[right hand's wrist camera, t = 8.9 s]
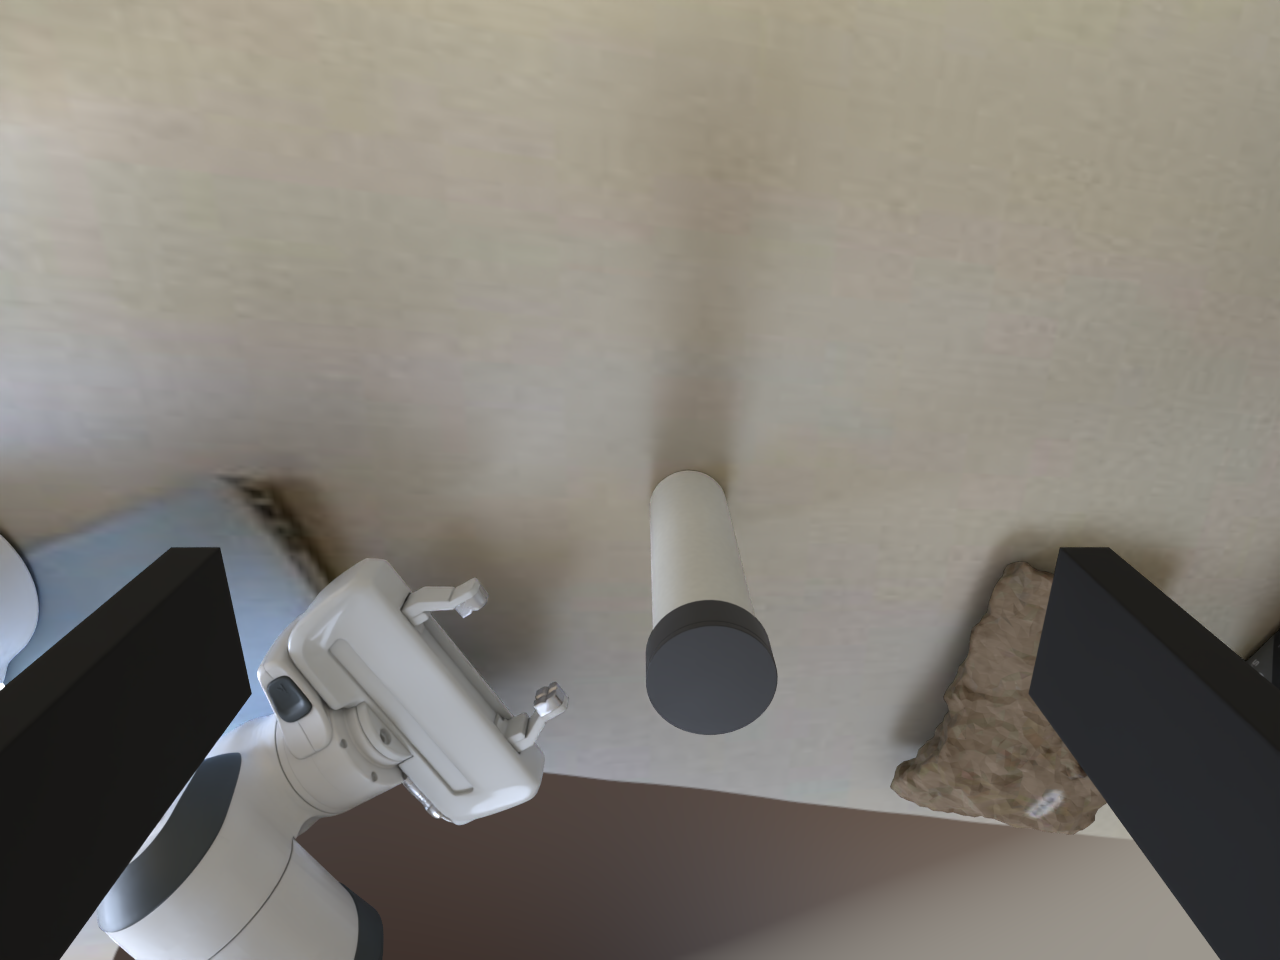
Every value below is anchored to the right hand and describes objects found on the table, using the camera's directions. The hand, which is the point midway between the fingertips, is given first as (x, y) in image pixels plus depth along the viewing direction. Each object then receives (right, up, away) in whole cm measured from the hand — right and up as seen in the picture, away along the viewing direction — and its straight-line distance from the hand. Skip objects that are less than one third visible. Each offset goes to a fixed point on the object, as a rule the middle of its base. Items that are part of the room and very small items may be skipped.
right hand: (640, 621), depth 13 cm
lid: (+3, -7, +25) cm, 26 cm away
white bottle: (+3, 0, +44) cm, 44 cm away
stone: (+29, -14, +49) cm, 59 cm away
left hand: (-8, -9, +40) cm, 42 cm away
